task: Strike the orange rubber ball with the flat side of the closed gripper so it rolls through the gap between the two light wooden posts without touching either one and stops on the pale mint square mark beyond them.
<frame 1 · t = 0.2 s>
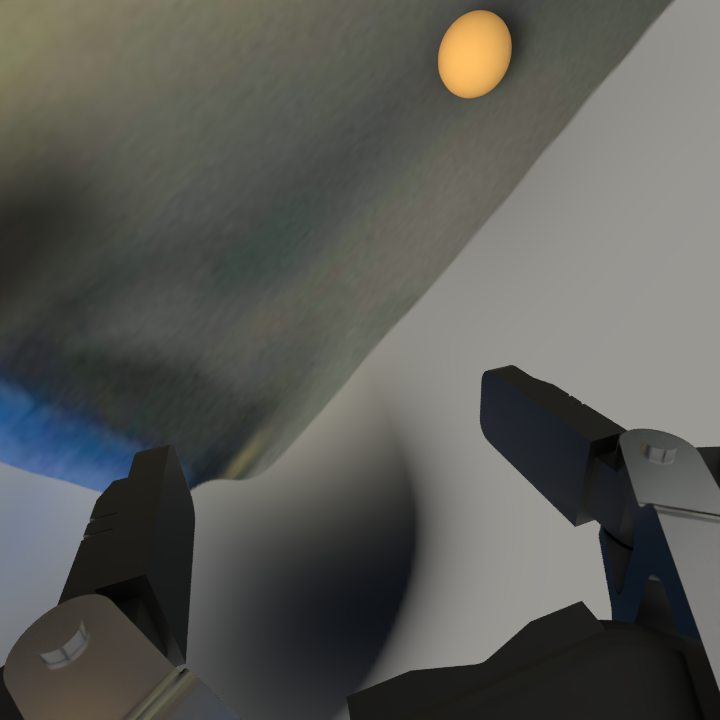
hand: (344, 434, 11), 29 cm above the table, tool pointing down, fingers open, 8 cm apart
ball: (474, 56, 32), on the table
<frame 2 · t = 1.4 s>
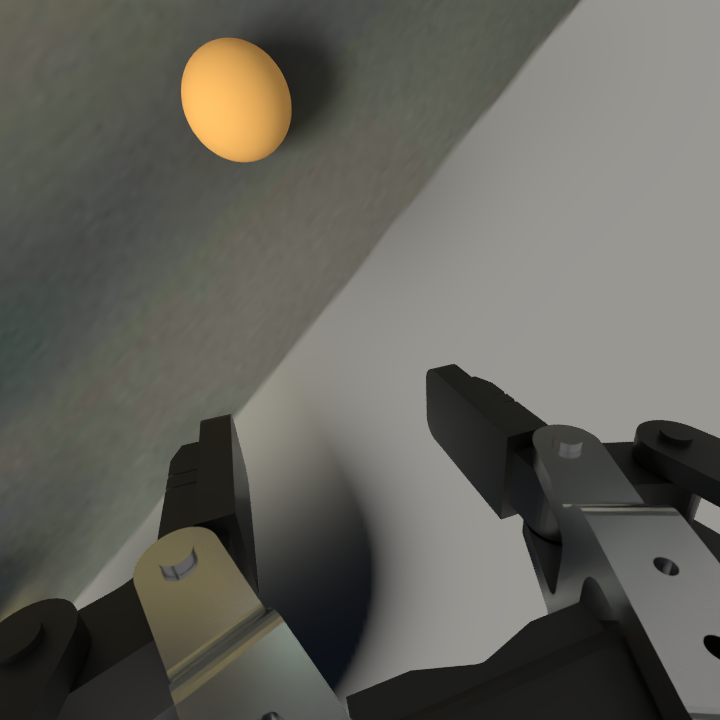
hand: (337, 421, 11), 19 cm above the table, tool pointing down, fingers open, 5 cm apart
ball: (238, 104, 22), on the table
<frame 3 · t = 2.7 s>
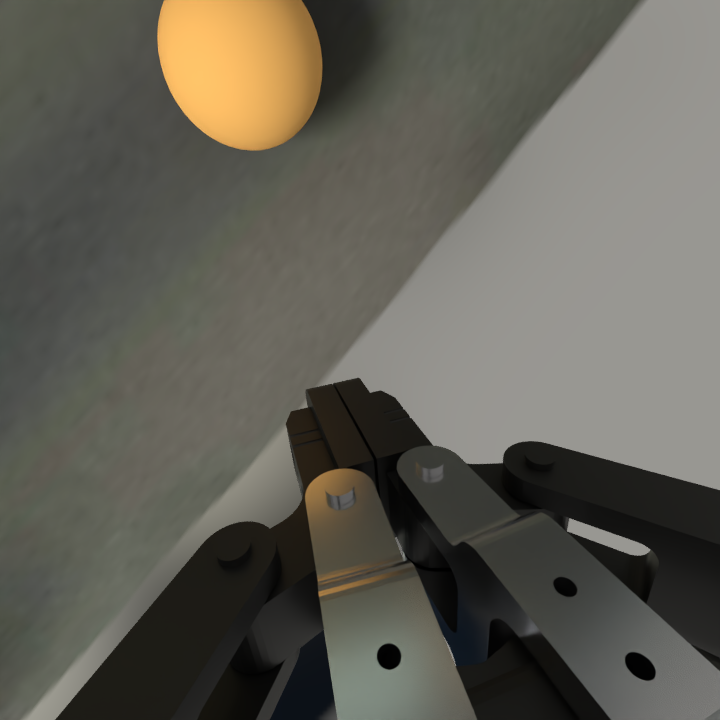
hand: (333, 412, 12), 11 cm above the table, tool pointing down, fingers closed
ball: (244, 63, 15), on the table
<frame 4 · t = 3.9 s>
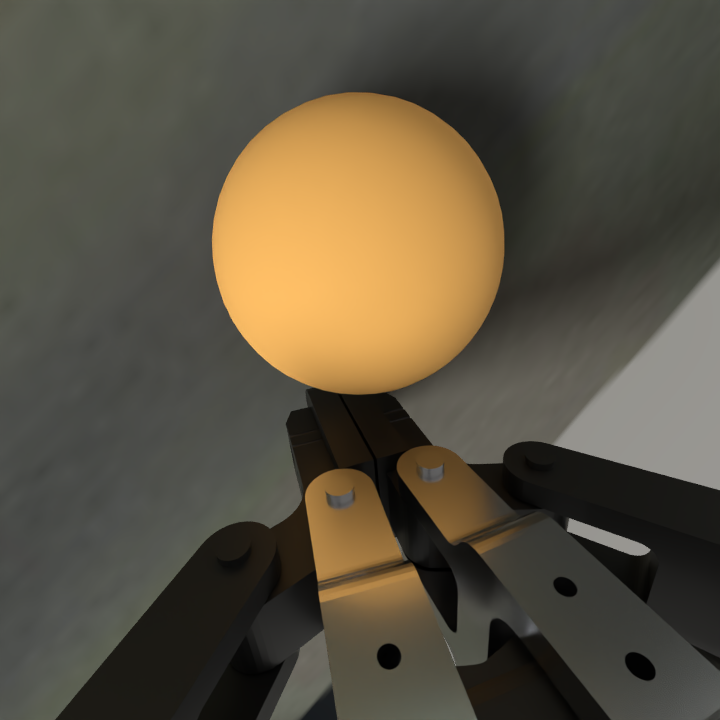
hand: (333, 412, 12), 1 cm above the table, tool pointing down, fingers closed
ball: (358, 256, 8), on the table
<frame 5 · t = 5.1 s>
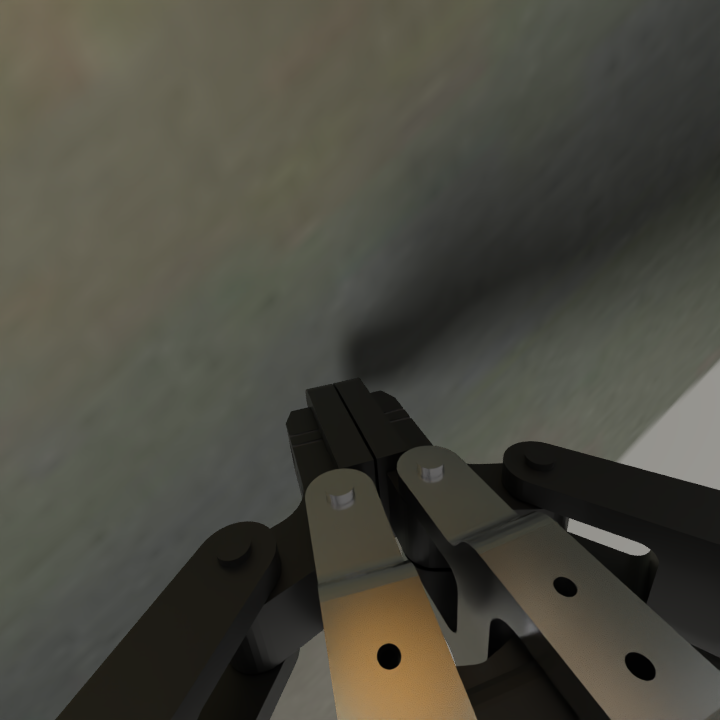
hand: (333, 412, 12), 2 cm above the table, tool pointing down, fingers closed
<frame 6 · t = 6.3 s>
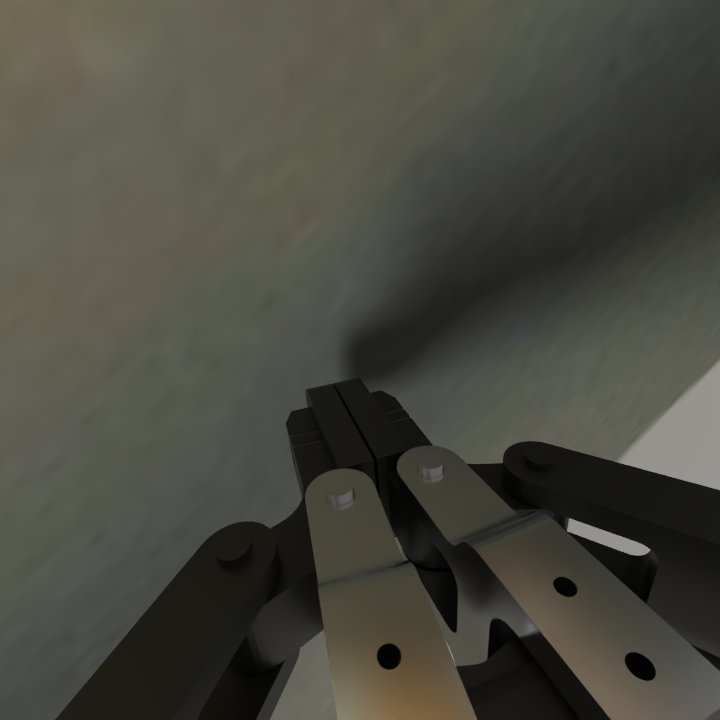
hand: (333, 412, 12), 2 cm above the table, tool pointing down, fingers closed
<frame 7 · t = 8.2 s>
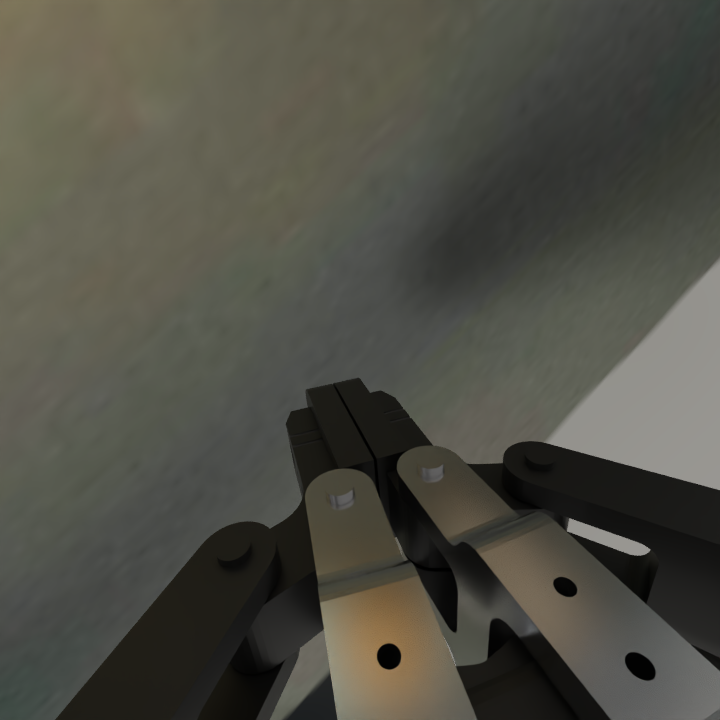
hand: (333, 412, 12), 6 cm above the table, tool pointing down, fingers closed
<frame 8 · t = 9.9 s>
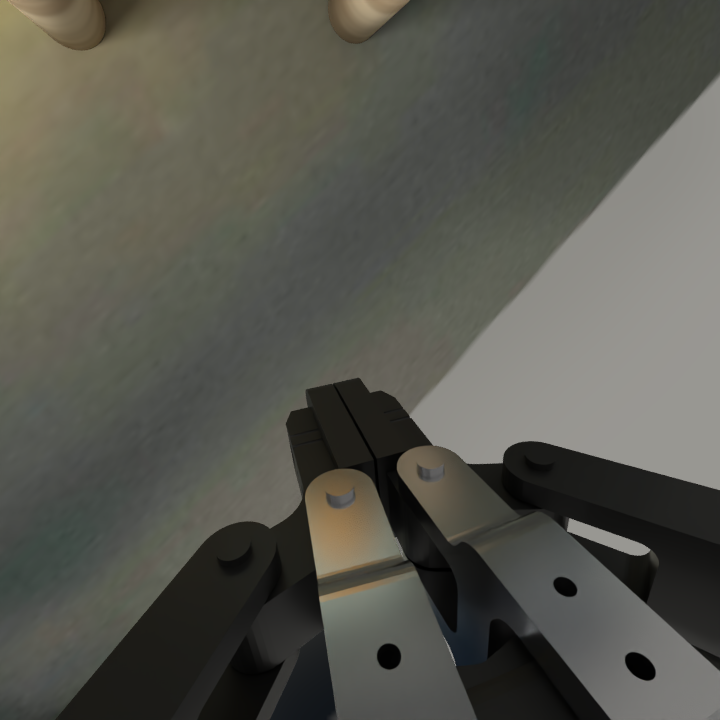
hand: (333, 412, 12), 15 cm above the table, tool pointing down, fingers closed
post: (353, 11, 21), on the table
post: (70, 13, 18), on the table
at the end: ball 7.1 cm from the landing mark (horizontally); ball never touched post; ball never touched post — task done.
